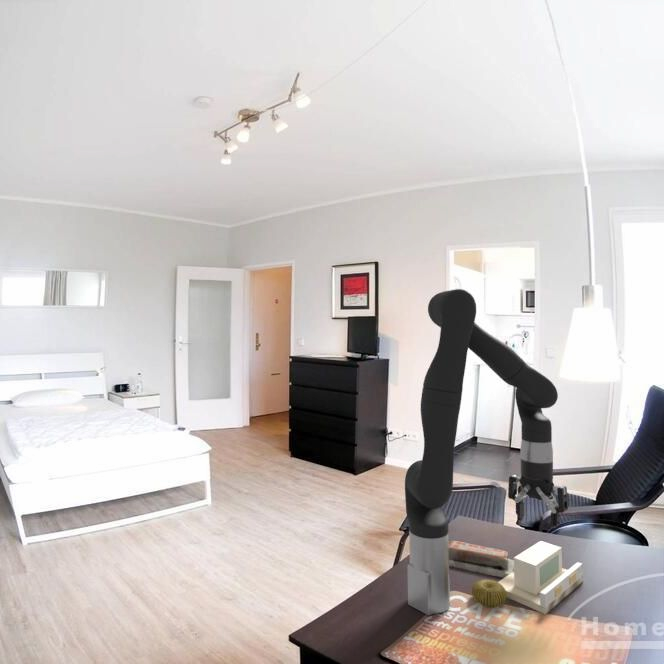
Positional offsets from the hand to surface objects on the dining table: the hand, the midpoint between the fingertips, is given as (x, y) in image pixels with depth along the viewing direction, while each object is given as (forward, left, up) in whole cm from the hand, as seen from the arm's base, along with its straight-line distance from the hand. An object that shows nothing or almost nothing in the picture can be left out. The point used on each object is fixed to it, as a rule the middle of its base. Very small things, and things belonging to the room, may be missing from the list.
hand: (537, 522), depth 118 cm
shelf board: (0, 0, -16) cm, 16 cm away
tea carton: (0, 0, -15) cm, 15 cm away
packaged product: (-1, +16, -17) cm, 23 cm away
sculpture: (-15, +5, -17) cm, 23 cm away
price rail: (0, -6, -15) cm, 16 cm away
